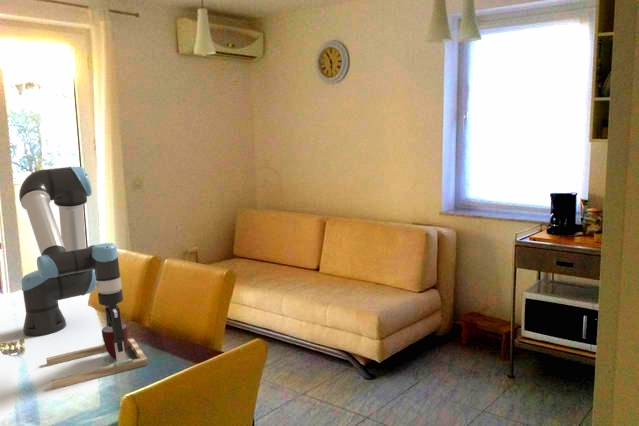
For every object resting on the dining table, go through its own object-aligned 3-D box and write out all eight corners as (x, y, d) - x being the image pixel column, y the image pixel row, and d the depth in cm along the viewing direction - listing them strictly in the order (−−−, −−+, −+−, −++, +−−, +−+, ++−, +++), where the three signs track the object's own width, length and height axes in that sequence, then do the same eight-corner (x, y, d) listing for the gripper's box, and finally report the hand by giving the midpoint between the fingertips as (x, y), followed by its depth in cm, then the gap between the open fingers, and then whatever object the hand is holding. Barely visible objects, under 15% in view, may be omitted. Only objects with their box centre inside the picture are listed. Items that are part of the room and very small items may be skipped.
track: (47, 363, 187) (45, 356, 187) (133, 343, 201) (132, 336, 200) (52, 389, 168) (51, 381, 167) (147, 364, 181) (146, 356, 181)
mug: (132, 360, 184) (129, 331, 183) (106, 366, 181) (102, 336, 180) (129, 349, 194) (125, 321, 192) (104, 354, 191) (100, 326, 189)
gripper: (92, 285, 192) (100, 347, 196) (103, 301, 172) (112, 369, 176) (115, 281, 196) (123, 341, 199) (128, 296, 176) (136, 363, 179)
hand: (118, 354), depth 187 cm, fingers closed on mug, 10 cm apart
